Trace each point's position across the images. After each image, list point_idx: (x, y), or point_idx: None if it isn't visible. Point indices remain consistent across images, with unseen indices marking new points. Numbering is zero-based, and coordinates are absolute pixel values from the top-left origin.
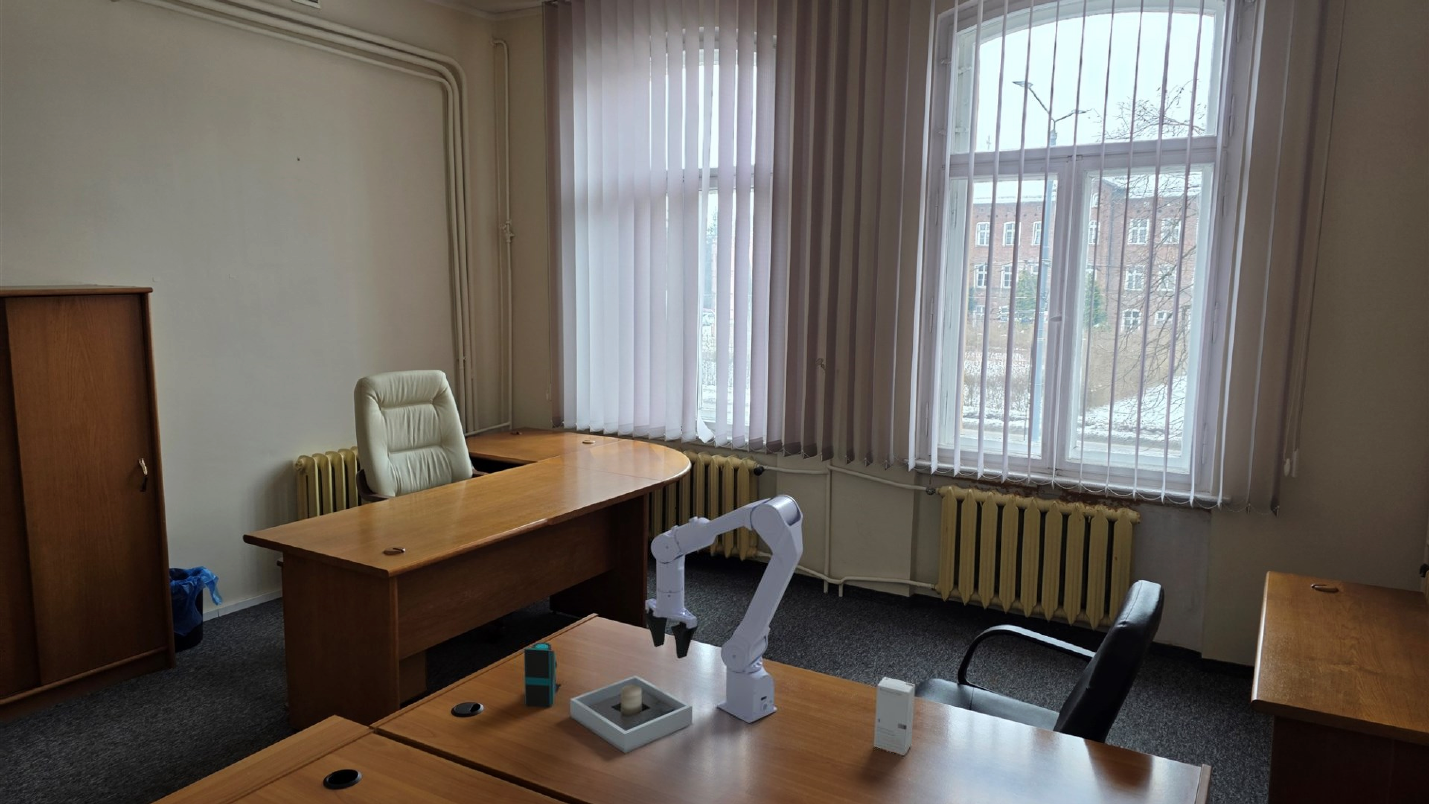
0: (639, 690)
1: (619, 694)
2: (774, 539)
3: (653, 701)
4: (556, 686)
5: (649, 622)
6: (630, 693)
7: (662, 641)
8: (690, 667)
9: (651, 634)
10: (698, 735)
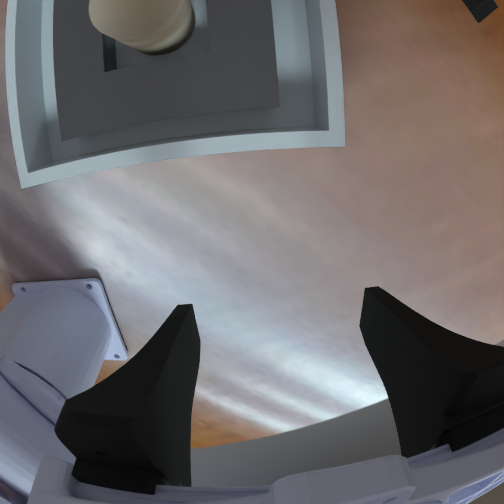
0: (103, 24)
1: (271, 25)
2: None
3: (139, 100)
4: (473, 3)
5: (454, 354)
6: None
7: (365, 331)
8: (336, 343)
9: (414, 312)
10: (6, 159)
